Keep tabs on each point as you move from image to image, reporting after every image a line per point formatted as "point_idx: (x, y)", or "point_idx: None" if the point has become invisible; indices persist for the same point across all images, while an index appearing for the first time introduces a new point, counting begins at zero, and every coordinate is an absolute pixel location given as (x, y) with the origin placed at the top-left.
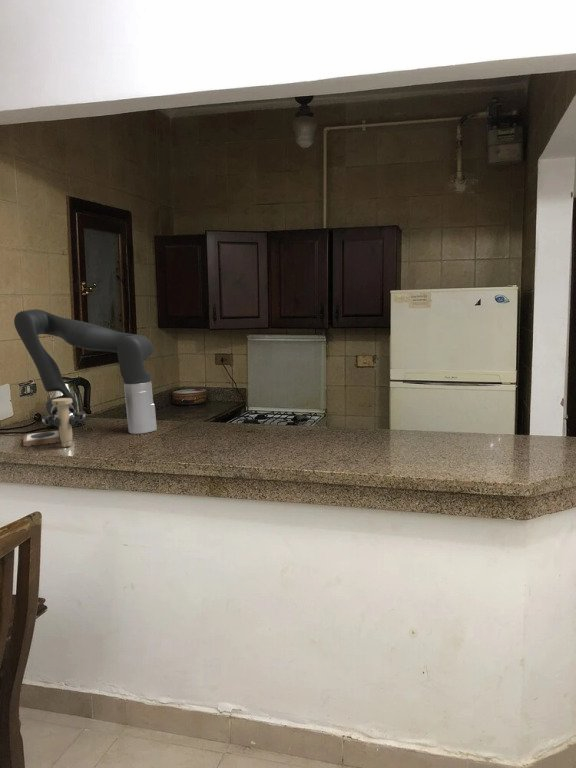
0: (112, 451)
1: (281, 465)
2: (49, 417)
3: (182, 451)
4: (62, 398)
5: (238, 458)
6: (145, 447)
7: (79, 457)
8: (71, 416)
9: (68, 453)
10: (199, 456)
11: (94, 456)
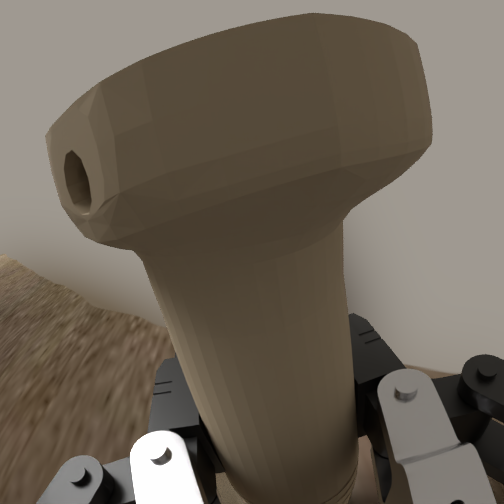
0: (111, 372)
1: (22, 273)
2: (492, 373)
3: (21, 326)
4: (180, 66)
5: (18, 290)
6: (33, 374)
7: None
8: (174, 420)
9: None
10: (31, 302)
11: None
